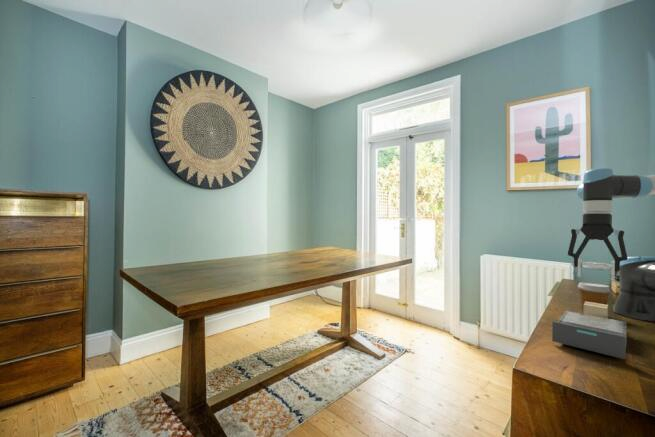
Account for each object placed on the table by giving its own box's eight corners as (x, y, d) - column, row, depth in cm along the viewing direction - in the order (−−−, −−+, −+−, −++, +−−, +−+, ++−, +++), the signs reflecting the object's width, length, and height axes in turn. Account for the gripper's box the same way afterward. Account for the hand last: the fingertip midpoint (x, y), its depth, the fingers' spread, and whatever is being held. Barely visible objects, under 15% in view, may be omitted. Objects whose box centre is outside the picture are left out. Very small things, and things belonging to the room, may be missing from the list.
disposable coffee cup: (576, 310, 119) (577, 280, 119) (609, 315, 113) (609, 284, 113) (577, 315, 112) (578, 284, 112) (612, 321, 106) (612, 288, 106)
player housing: (565, 323, 103) (565, 310, 103) (626, 335, 92) (626, 321, 92) (558, 333, 92) (558, 320, 92) (626, 349, 82) (626, 333, 82)
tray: (560, 329, 94) (560, 311, 94) (625, 343, 83) (626, 324, 83) (552, 341, 84) (552, 321, 84) (625, 359, 73) (625, 337, 73)
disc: (597, 266, 106) (597, 262, 106) (618, 270, 98) (618, 265, 98) (574, 266, 106) (574, 261, 106) (594, 269, 98) (594, 265, 98)
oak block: (585, 320, 106) (585, 301, 106) (607, 325, 102) (608, 305, 102) (583, 324, 102) (583, 304, 102) (607, 329, 97) (607, 308, 98)
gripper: (640, 213, 97) (639, 282, 97) (561, 213, 112) (559, 272, 112) (640, 212, 92) (639, 285, 92) (557, 212, 107) (556, 274, 107)
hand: (595, 278), depth 102 cm, fingers closed on disc, 8 cm apart
